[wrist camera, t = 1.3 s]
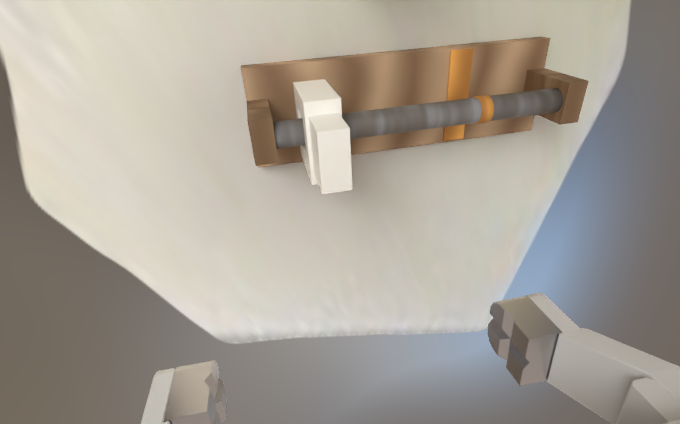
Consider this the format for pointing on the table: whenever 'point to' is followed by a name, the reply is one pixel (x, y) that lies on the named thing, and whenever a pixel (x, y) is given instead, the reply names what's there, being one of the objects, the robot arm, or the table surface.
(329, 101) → the collar
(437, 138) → the pipe stand
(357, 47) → the table surface
